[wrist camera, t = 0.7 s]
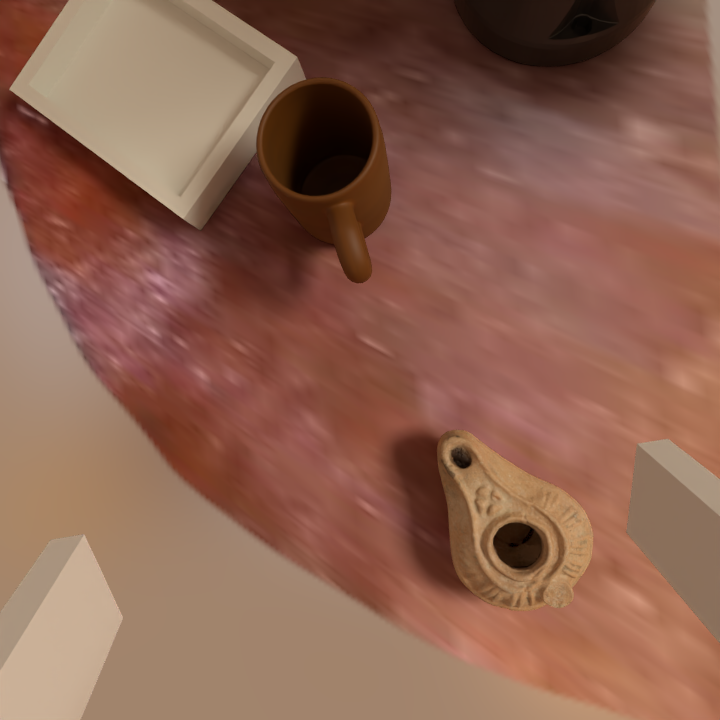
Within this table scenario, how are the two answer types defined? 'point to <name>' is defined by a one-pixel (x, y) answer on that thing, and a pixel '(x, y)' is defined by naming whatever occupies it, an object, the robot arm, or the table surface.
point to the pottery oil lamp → (510, 528)
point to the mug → (328, 165)
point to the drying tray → (160, 92)
